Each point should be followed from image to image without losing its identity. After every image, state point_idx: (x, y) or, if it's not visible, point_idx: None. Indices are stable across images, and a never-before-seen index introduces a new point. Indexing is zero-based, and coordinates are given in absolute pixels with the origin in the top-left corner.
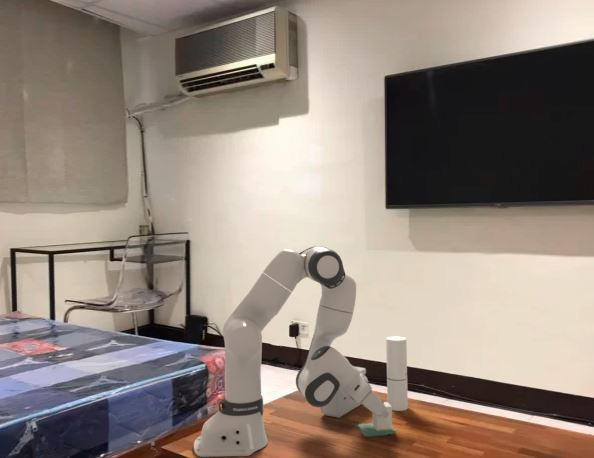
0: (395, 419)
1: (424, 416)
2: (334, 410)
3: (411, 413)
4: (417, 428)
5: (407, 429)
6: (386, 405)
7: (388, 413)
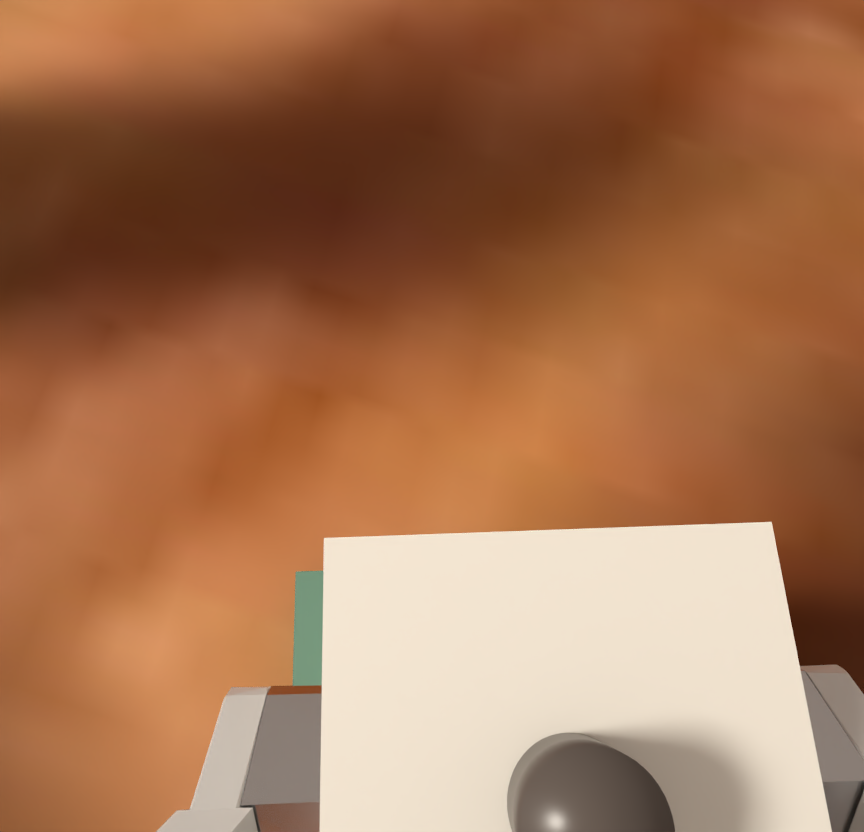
0: (140, 390)
1: (169, 46)
2: None
3: (17, 140)
4: (519, 234)
5: (531, 357)
6: (677, 665)
7: (854, 682)
